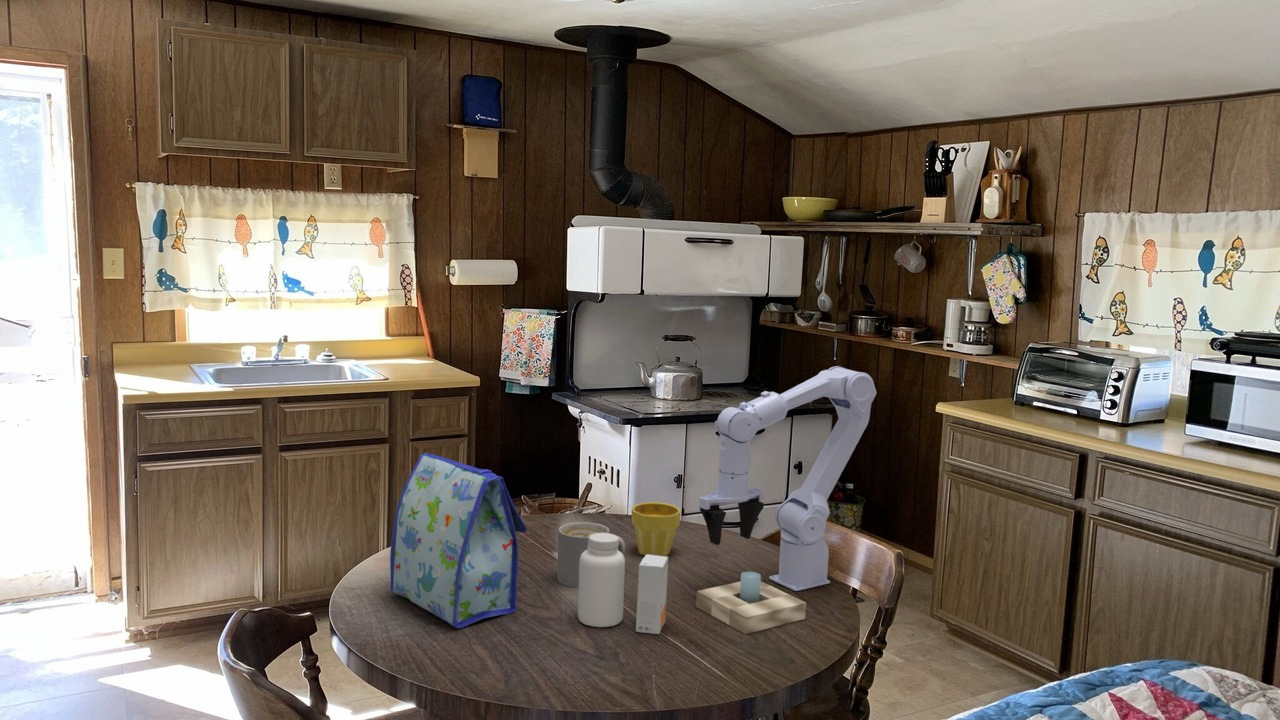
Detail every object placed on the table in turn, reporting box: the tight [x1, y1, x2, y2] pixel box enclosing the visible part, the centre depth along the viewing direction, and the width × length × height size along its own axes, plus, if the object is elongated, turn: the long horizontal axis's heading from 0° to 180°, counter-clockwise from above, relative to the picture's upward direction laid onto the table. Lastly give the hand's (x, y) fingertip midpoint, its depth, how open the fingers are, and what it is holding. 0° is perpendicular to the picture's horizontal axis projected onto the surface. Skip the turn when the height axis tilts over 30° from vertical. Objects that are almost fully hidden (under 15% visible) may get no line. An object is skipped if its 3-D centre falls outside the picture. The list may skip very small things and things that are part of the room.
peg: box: [740, 571, 762, 604], centre depth 174 cm, size 4×4×7 cm
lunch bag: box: [389, 452, 528, 629], centre depth 171 cm, size 22×17×26 cm
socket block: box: [695, 580, 807, 635], centre depth 174 cm, size 14×14×3 cm
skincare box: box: [635, 554, 669, 635], centre depth 165 cm, size 6×4×12 cm
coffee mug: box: [556, 521, 626, 589], centre depth 187 cm, size 13×10×10 cm
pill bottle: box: [577, 532, 626, 628], centre depth 167 cm, size 8×8×15 cm
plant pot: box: [631, 501, 681, 557], centre depth 204 cm, size 10×10×10 cm
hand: (730, 540), depth 184 cm, fingers open, 7 cm apart
